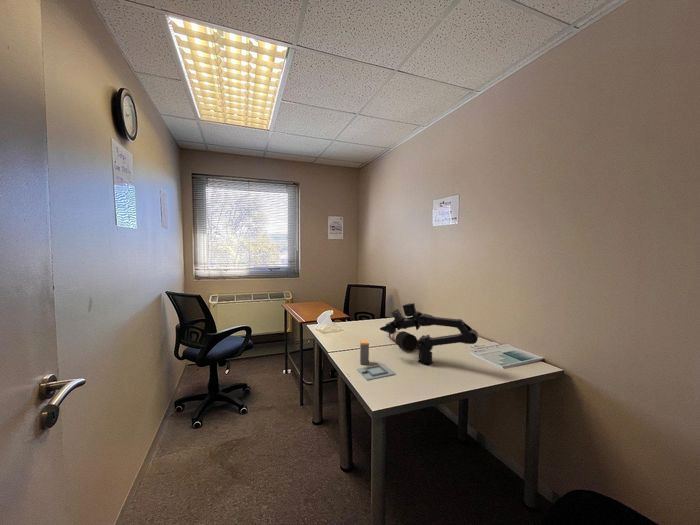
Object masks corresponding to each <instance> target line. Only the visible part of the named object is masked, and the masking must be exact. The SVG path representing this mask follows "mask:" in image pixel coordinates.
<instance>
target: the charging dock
mask: <svg viewBox="0 0 700 525" xmlns="http://www.w3.org/2000/svg"><path fill="white" fill-rule="evenodd" d="M356 371H357V372H358V373H359V374H360V375H361V376H362V377H363V378H364V379H365V380H366V381H370V380H375V379H380V378H381V379H382V378H385V377H390V376H395V375H397V373H396V372H395V371H393V369H391V368H390V367H388V366H387V365H386V364H385V363H381V364H376V365H370V366H366V367H365V366H364V367H359V368H356Z"/></svg>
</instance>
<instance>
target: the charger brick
mask: <svg viewBox="0 0 700 525" xmlns="http://www.w3.org/2000/svg"><path fill="white" fill-rule="evenodd" d="M359 344H360V345H359V363H360V365H362V366H363V365H365V366H366V365H369V363H370V362H369V361H370V360H369V357H370V356H369V355H370V352H369V351H370V342H369V340H368V339H366V340H365V339H364V340H363V339H362V340H359Z"/></svg>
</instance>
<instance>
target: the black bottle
mask: <svg viewBox="0 0 700 525" xmlns="http://www.w3.org/2000/svg"><path fill="white" fill-rule="evenodd" d="M386 335H387V337H388V338H390V339H391V340H393V341H394V342H395V344H396V345H397V346H398V347H399V348H401V349H403V350H405V351H407V352H413V351H414V350H415V349H417V346H416V342H417V340H418V338H417V337H416V336H415V334H411V333H410V332H408V331H404V330H402V331H400V330H396V332H395V333H394V334H389V333H388V332H386Z"/></svg>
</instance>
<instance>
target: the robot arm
mask: <svg viewBox="0 0 700 525" xmlns="http://www.w3.org/2000/svg"><path fill="white" fill-rule="evenodd" d="M401 306H402V309H403V313H404V316H403V315H402V313H401V312H400V310H399V309H398V308H396V309H395V310H393V311H392V312H391V313H390V314H391V315H392V317H393V318H394V319H393V320H392V321H389V322H387V323H385V325H384V326H381V327H380V328H379V330H380V331H383V332H385V333H387V332H388V333H389V334H394V333H395V332H396V331H400V330H407V329H409V328H414V327H415V328H416V331H418V330H419V329H421V328H420V327H431V326H439V327H449V328H450V327H451V328H456V329H458V331H459V332H460V333H457V334H449V335H443V336H435V337H431V336H430V334H426V335H424V334H422V336H420V337H419V338H417V342H416V346H417V347H416V349H418V360H417V362H418V363H420V364H423V365H424V366H430V365H431V364H434V361H433V352H432V350H433V348H434V347H435V346H441V345H442V346H443V345H450V344H457V343H460V344H465V345H469V344H470V345H474V344H476V343H477V341H478V339H479V332H478V331H477V330H475V329H473V328H472V327H471V326H470V325H468V324H467V323H466V322H465V321H464V320H463V319H461V318H447V317H440V316H438V317H437V316H433V315H431V314H428V313H422V312H420V311H417V309H416V304H415V302H412V303H405V304H402V305H401Z"/></svg>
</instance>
